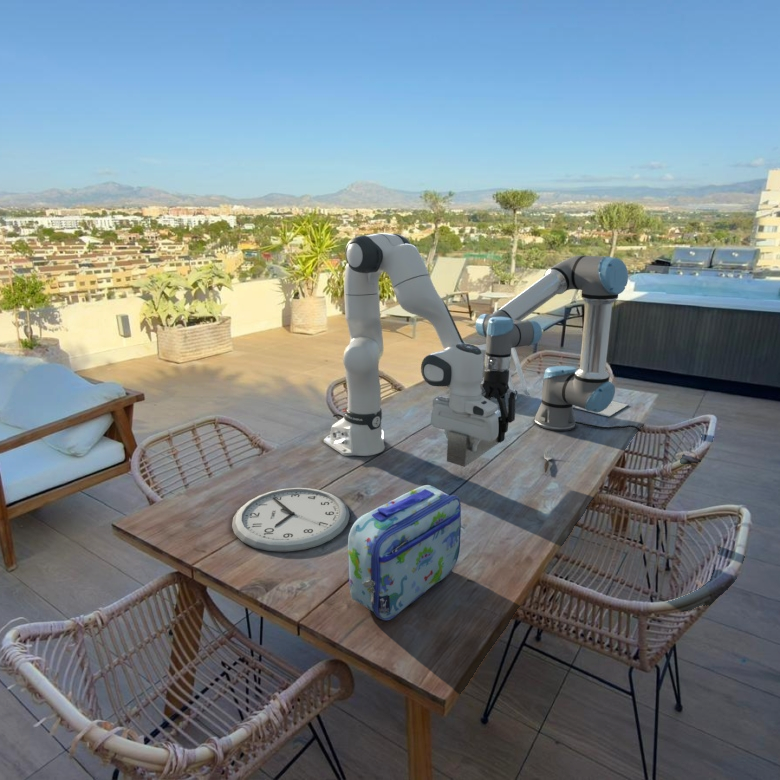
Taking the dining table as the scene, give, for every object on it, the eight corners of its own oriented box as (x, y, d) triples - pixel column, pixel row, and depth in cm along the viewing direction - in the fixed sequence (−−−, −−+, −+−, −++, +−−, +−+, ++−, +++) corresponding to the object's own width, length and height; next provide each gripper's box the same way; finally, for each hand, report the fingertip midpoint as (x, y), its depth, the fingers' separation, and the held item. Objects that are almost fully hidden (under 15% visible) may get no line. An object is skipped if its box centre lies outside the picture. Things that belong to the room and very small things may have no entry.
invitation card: (608, 416, 214) (573, 407, 224) (608, 416, 214) (573, 408, 224) (628, 404, 229) (594, 396, 238) (628, 405, 229) (594, 397, 238)
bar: (487, 434, 171) (489, 408, 168) (504, 439, 167) (506, 412, 165) (446, 461, 151) (448, 431, 148) (464, 467, 148) (466, 436, 145)
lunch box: (378, 635, 98) (379, 537, 91) (341, 606, 105) (340, 513, 99) (464, 574, 115) (470, 488, 109) (427, 553, 122) (431, 471, 116)
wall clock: (350, 543, 123) (219, 547, 120) (350, 549, 123) (220, 553, 121) (349, 483, 151) (243, 486, 149) (349, 488, 152) (243, 491, 149)
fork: (540, 473, 163) (541, 467, 163) (544, 453, 178) (545, 448, 177) (549, 474, 162) (550, 468, 162) (552, 454, 177) (553, 449, 176)
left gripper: (427, 397, 150) (425, 441, 154) (492, 412, 138) (488, 460, 142) (439, 392, 155) (437, 435, 159) (503, 406, 143) (499, 453, 147)
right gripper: (463, 365, 162) (459, 434, 169) (521, 376, 151) (514, 449, 158) (475, 361, 168) (470, 428, 175) (531, 371, 157) (524, 442, 164)
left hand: (462, 447), depth 150 cm, fingers closed on bar, 6 cm apart
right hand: (491, 438), depth 166 cm, fingers closed on bar, 6 cm apart
